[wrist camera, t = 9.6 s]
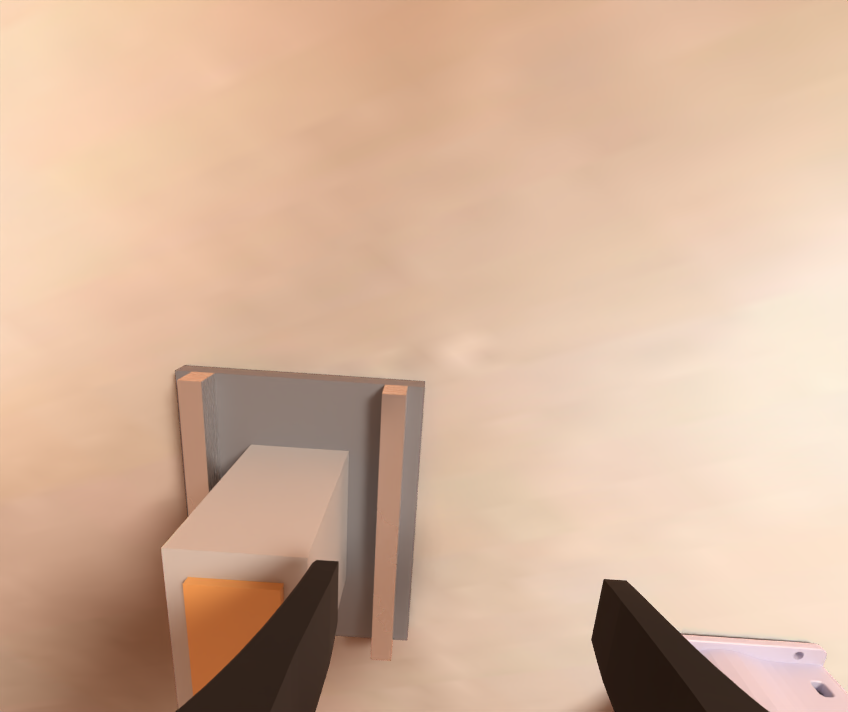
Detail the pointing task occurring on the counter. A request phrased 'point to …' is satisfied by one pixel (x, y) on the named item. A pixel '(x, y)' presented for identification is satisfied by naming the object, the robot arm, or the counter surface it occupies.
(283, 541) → the module block
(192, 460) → the rail mount
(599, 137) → the counter surface
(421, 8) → the counter surface
